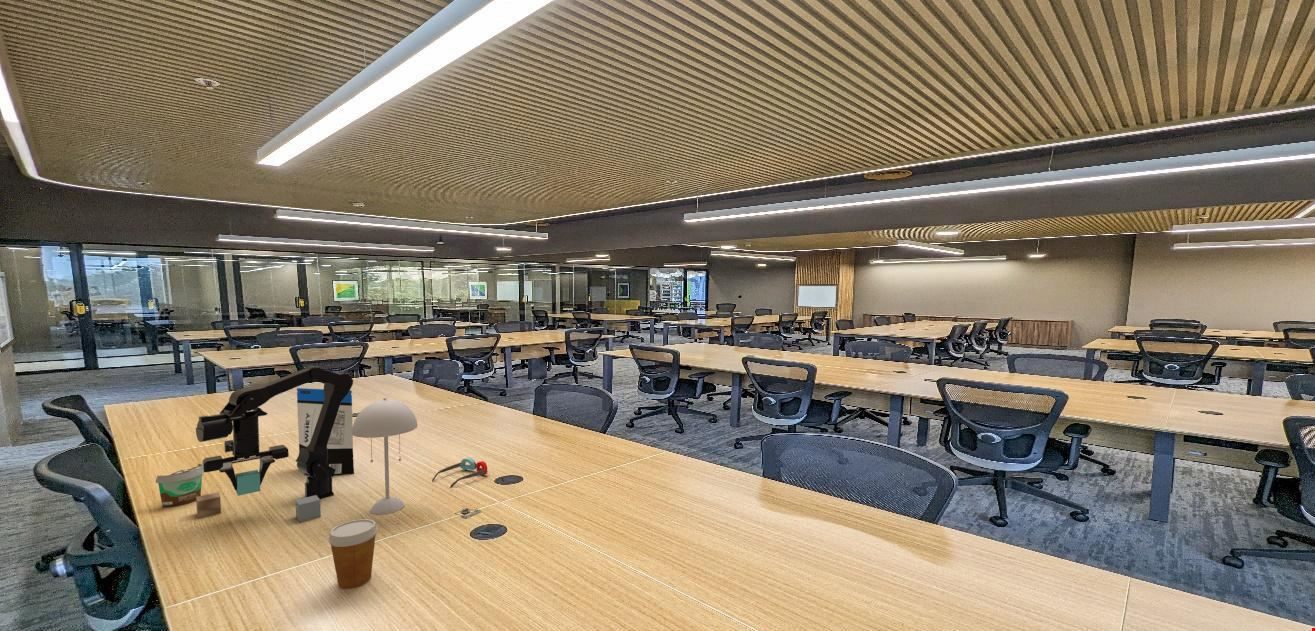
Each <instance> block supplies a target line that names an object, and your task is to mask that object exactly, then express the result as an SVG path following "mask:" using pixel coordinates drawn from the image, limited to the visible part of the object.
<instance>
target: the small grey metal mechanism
mask: <svg viewBox="0 0 1315 631" xmlns="http://www.w3.org/2000/svg"><path fill="white" fill-rule="evenodd" d="M471 511H473V512H471ZM458 513H461V515H460V514H458ZM481 513H482V510H481V509H478V508H475V509H474V510H473V509H470V508H467V507H463V508H462V509H461V510H459V511H458V512H455V513H454V514H455V515H458V516H460V517H461V518H462V519H465V520H467V519H468V518H470V519H471V517H473V516H476V515H478V514H481ZM466 514H467V515H466Z"/></svg>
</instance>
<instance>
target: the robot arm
mask: <svg viewBox="0 0 1315 631" xmlns="http://www.w3.org/2000/svg"><path fill="white" fill-rule="evenodd" d="M312 381H316V382H318V383H321V384H324V385H323V389H324V398H325V399H324V402H323V405H322V408H321V411H320V415H319V418H318V421H317V424H316V427H315V430H314V433H313V436H312V439H311V442H310V444H309V445H308V446H307V447H306V448H305V449H302V448H301V449H300V450H299V449H298V456H297V457H296V459H295V462H296V468H297V469H298V470H299V471H300V472H301V473H302V474H304V476H306V482H305V483H304V495H305V498H306V497H310V496H314V495H317V497H318V498H319V499H322V498H327V497H331V496H334V495H335V493H334V492H333V477H335V476H334V473H335V469H333V468H332V467H330V466H329V465H327V460H328V452H327V444H328V441H329V438H330V435H331V431H332V428H333V425H334V422H335V419H336V416H337V413H338V410H339V407H340V404H341V401H342V400H343V399H344V398H345V397H346V396H347V394H348V393H349V391H351V389H352V387H353V385H354V379H353V377H352V376H351V375H350V374H348V373H344V372H333V371H330V370H327V369H324V368H321V367H320V366H314V365H309V366H306V367H305V368H303V369H301V370H298V371H295V372H293V373H290V374H288V375H285V376H282V377H279V378H277V379H274V380H272V381H270V382H267V383H264V384H258V385H252V386H247V387H243V388H239V389H237V390H234V391H233V392H232V393H230V396H229V399H228V401H227V403H226V404H225V406H224V407H223V408H222V410H220V412H219V414H212V415H200V416H198V421H197V423H196V427H195V436H196V438H197V441H198V442H199V443H203V442H210V441H213V440H220V439H225V438H228V436H229V435H231V434H232V437H233V438H232V439H231V440H224V442H223V443H224V445H223V446H224V453H231V452H232V454H231V455H232V456H231V457H223V456H222V455H214V456H209V457H205V458H204V459H202V465H203V470H204V473H210V472H216V471H219V473H220V474H221V473H225V474H226V476H227V478H228V479H229V480H230V482H231V485H232V487H233V490H235V491H236V490H237V483H236V478H235V474H236V473H235V468H234V466H233V464H237V463H239V464H240V463H243V462H250V461H254V460H259V470H258V472H259V473H260V486H261V485H262V482H264V478H265V476H266V473H267V472H268V470H269V468H270V466H271V464H274V463H275V462H276V460H280V459H286V458H289V455H290V453H289V448H288V447H287V446H286V445H284V444H279V445H274V446H269V447H268V450H263V451H260V431H259V430H260V428H259V426H260V425H259V417H263V416H267V415H268V412H266V411H265V410H263V409H262V408H261V407H260V406H263V405H265V404H266V403H267V402H269V400H271V399H272V398H274V397H275V396H278V395H281V394H283V393H285V392H287V391H291V390H293V389H295V388H299V387H300V386H303V385H305V384H307V383H309V382H312Z"/></svg>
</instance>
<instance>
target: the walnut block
mask: <svg viewBox="0 0 1315 631" xmlns="http://www.w3.org/2000/svg"><path fill="white" fill-rule="evenodd" d="M195 502H196V503H195V504H196V515H197V516H196V517H197V519H203V518H207V517H210V516H215V515H218V514H220V515H221V514H222V508H221V507H222V505H221V502H222V500H221V494H220V492H219V491H217V492H213V493H207V494H203V495H202V494H201V496H198V497H196V501H195Z"/></svg>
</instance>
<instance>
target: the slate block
mask: <svg viewBox="0 0 1315 631" xmlns="http://www.w3.org/2000/svg"><path fill="white" fill-rule="evenodd" d="M321 513H322V512H321V498H318V497H317V495H314V496H310V497H306V496H305V497H303V498H299V499H295V517H296V519H297V520H298V522H299V523H301V522H306V521H308V520H309V521H310V520H314V519H317V518H321V517H322V514H321Z"/></svg>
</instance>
